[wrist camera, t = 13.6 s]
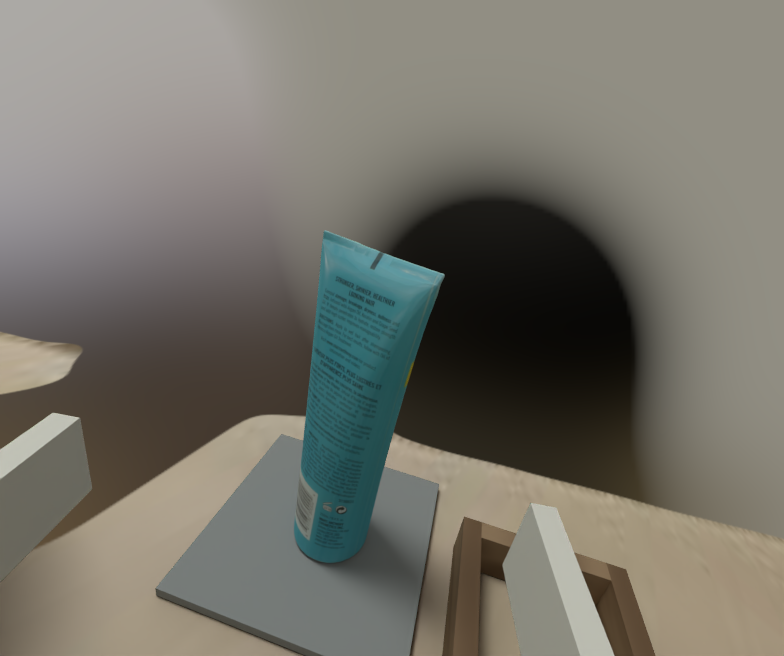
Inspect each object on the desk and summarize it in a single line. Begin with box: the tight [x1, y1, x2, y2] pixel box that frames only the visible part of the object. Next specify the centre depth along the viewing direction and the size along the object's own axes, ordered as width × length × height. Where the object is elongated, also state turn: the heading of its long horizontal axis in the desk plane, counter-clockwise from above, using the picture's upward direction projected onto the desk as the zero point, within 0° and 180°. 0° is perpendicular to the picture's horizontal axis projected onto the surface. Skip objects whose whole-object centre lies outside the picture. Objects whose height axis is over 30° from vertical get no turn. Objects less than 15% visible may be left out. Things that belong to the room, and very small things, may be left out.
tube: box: [294, 231, 444, 563], centre depth 22 cm, size 7×5×19 cm, turn 58°
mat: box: [156, 434, 439, 656], centre depth 27 cm, size 14×14×1 cm
